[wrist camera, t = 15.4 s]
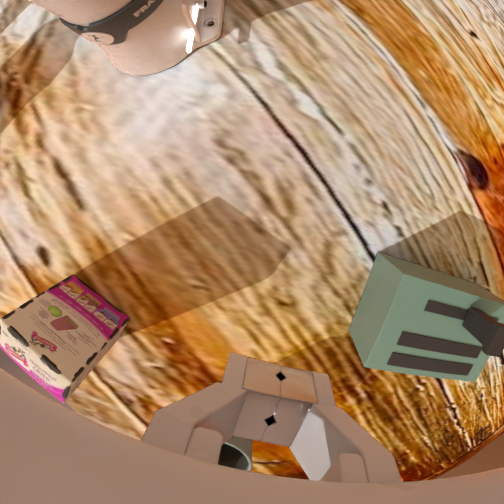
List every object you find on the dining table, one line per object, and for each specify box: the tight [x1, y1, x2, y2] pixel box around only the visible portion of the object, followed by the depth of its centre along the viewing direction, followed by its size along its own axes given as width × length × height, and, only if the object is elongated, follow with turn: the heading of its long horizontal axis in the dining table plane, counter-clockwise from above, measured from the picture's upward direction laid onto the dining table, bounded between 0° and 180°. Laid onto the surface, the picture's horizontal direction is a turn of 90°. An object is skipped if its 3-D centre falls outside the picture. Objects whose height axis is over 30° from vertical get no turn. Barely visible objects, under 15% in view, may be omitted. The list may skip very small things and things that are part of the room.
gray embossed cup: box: [218, 436, 252, 471], centre depth 38 cm, size 10×10×12 cm
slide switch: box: [462, 307, 504, 357], centre depth 25 cm, size 3×2×6 cm
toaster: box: [349, 252, 504, 381], centre depth 34 cm, size 11×18×9 cm, turn 76°
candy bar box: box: [0, 275, 130, 403], centre depth 34 cm, size 11×5×16 cm, turn 56°
